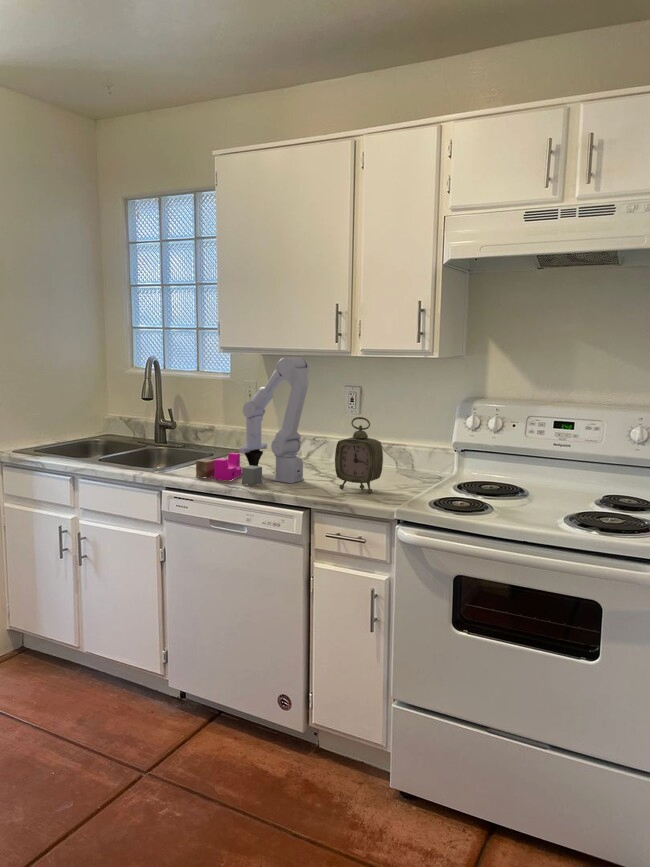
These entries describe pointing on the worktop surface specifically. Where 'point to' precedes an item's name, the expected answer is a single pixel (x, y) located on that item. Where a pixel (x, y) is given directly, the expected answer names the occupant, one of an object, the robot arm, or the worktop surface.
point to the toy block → (228, 467)
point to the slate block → (251, 475)
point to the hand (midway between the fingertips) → (253, 470)
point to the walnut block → (205, 468)
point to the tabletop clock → (359, 458)
